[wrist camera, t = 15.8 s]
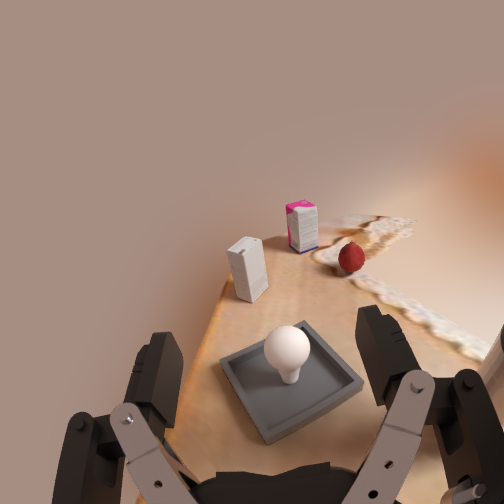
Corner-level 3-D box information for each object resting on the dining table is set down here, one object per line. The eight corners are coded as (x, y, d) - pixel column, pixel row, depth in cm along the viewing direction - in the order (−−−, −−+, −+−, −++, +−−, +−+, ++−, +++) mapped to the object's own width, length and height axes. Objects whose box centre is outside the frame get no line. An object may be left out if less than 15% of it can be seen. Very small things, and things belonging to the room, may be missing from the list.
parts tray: (304, 329, 50) (304, 320, 49) (361, 389, 37) (364, 381, 36) (222, 368, 45) (219, 359, 44) (267, 445, 32) (265, 439, 31)
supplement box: (319, 247, 73) (317, 205, 67) (299, 254, 71) (296, 212, 65) (307, 238, 77) (304, 198, 71) (288, 245, 76) (284, 204, 70)
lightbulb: (277, 401, 38) (268, 358, 32) (265, 371, 43) (255, 324, 37) (316, 388, 39) (317, 342, 33) (302, 359, 44) (299, 310, 38)
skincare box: (253, 282, 64) (244, 234, 58) (269, 287, 62) (262, 238, 56) (235, 298, 60) (224, 249, 54) (253, 305, 58) (243, 254, 52)
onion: (341, 281, 60) (342, 249, 56) (335, 266, 65) (335, 235, 60) (366, 277, 59) (369, 246, 55) (359, 263, 64) (361, 232, 60)
